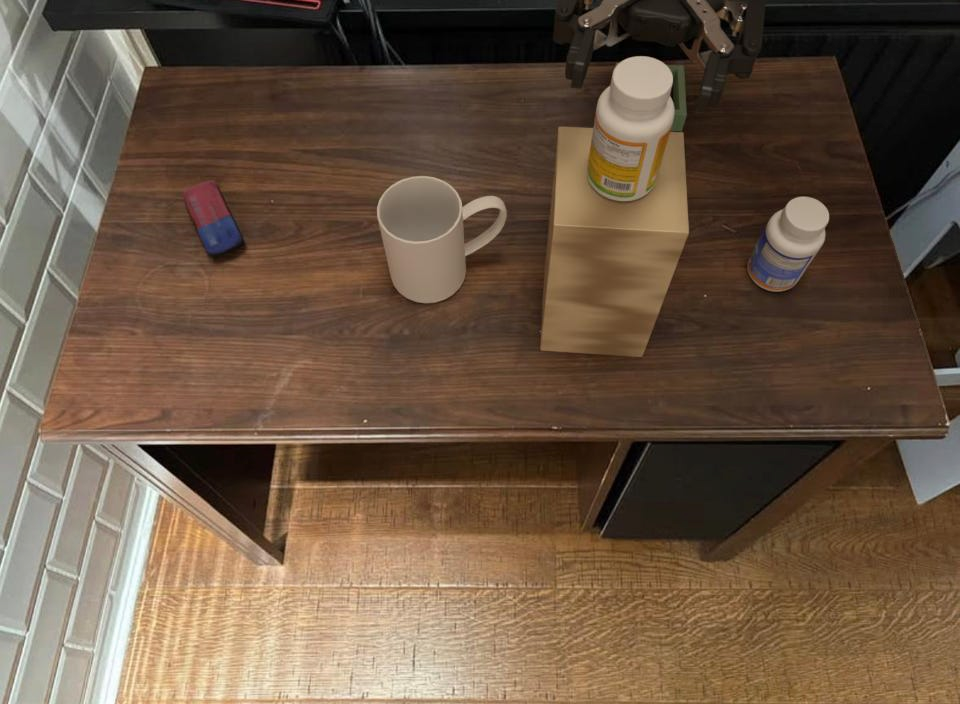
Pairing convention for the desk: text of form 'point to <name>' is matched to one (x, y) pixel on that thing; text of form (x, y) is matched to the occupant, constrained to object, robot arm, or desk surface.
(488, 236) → the mug
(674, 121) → the bottle holder
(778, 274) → the pill bottle
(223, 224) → the eraser
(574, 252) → the block
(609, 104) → the supplement bottle
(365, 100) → the desk surface
